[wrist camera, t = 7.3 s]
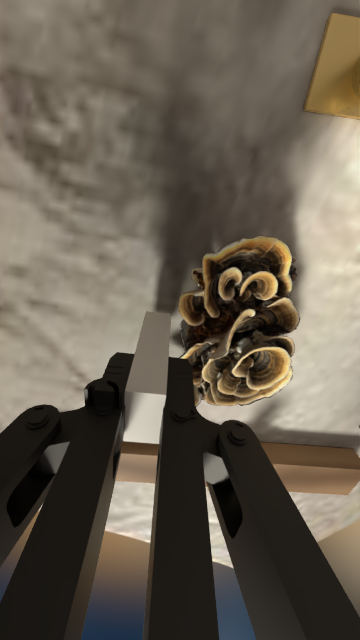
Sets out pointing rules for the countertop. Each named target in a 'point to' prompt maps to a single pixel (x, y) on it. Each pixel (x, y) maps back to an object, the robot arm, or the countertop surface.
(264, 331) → the mushroom
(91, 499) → the robot arm
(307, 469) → the beam plank
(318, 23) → the countertop surface
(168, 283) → the countertop surface
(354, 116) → the near post
